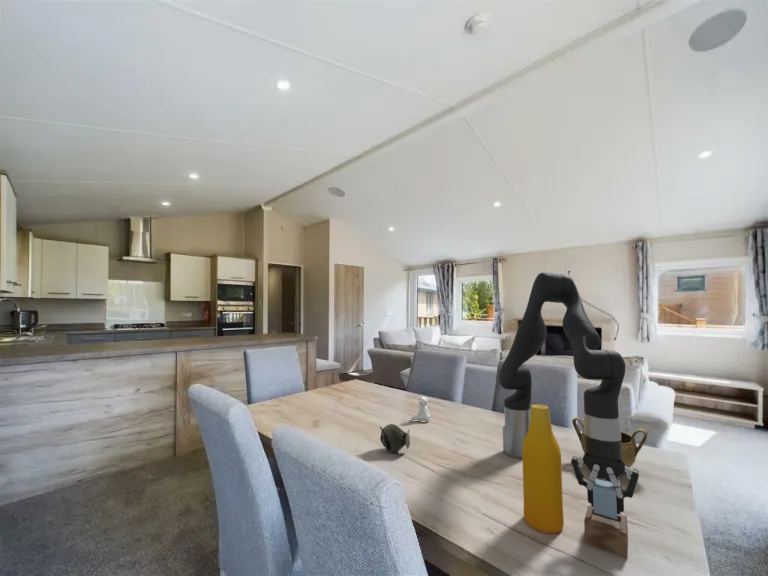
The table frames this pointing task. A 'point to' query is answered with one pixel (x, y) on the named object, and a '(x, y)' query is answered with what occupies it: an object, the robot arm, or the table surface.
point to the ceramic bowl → (626, 440)
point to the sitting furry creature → (422, 410)
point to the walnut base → (606, 532)
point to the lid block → (604, 499)
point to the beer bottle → (542, 474)
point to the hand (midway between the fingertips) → (605, 508)
